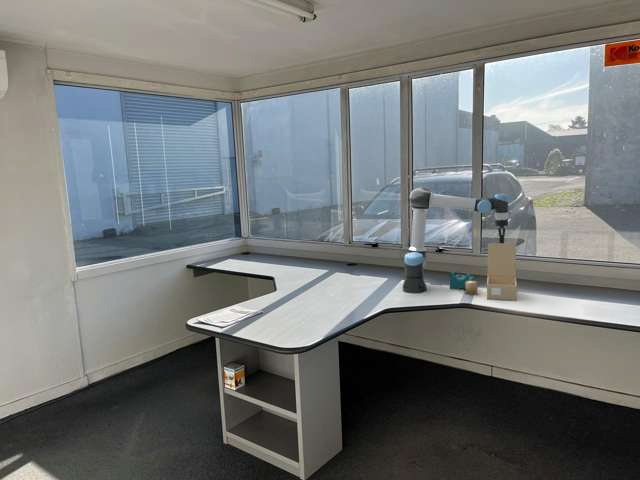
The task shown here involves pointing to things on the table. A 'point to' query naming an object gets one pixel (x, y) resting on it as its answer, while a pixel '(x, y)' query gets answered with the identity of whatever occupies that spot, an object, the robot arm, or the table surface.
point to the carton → (501, 288)
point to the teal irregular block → (459, 280)
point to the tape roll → (471, 287)
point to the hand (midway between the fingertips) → (501, 256)
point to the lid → (501, 259)
